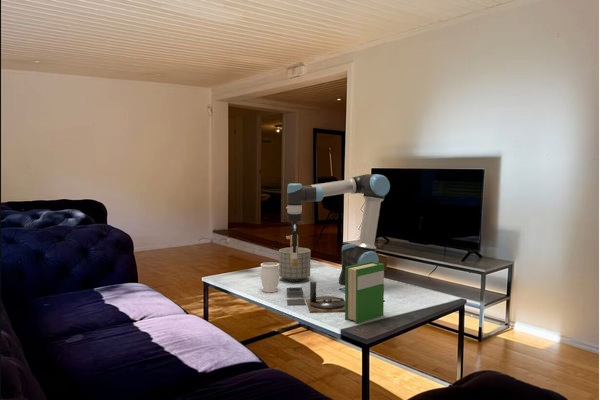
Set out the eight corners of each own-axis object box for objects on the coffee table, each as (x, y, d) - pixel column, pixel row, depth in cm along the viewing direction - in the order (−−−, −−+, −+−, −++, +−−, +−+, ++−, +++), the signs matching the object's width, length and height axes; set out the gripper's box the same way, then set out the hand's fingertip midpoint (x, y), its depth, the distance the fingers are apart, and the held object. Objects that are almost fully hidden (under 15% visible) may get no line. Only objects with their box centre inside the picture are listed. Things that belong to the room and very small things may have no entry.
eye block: (301, 292, 242) (301, 287, 242) (303, 297, 234) (303, 291, 234) (286, 293, 242) (286, 287, 242) (287, 297, 233) (287, 292, 233)
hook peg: (297, 264, 235) (297, 234, 234) (298, 266, 231) (298, 235, 230) (285, 264, 235) (286, 234, 234) (286, 266, 231) (286, 235, 230)
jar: (276, 293, 241) (276, 266, 240) (258, 292, 243) (258, 265, 242) (281, 288, 251) (281, 262, 250) (263, 287, 253) (263, 261, 252)
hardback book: (357, 323, 194) (357, 269, 192) (345, 319, 200) (345, 266, 198) (383, 315, 205) (384, 263, 204) (371, 311, 211) (371, 261, 209)
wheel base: (343, 300, 229) (343, 298, 229) (350, 311, 210) (350, 309, 210) (306, 300, 228) (306, 298, 228) (309, 312, 209) (309, 310, 209)
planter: (308, 284, 260) (308, 253, 259) (276, 283, 263) (276, 252, 262) (312, 276, 279) (312, 247, 277) (282, 275, 282) (282, 247, 280)
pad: (304, 299, 230) (304, 298, 230) (305, 305, 221) (305, 304, 221) (286, 300, 229) (286, 299, 229) (287, 305, 220) (287, 304, 220)
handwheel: (342, 298, 228) (342, 277, 227) (347, 308, 211) (347, 286, 210) (309, 298, 227) (309, 278, 226) (311, 309, 210) (311, 287, 209)
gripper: (287, 211, 240) (286, 254, 241) (287, 214, 223) (287, 261, 224) (300, 211, 240) (300, 254, 242) (302, 214, 223) (302, 261, 225)
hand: (294, 257), depth 233 cm, fingers closed on hook peg, 4 cm apart
